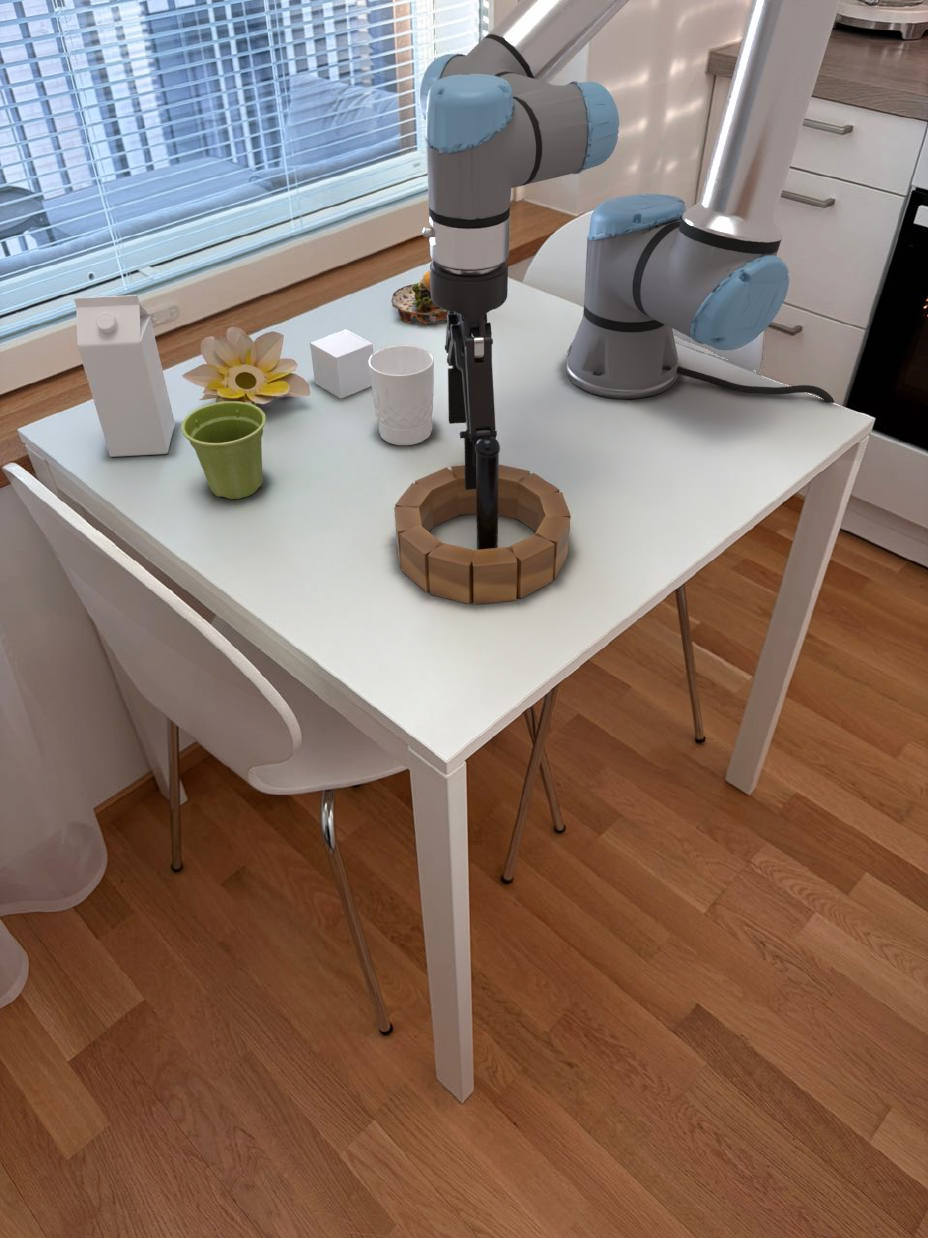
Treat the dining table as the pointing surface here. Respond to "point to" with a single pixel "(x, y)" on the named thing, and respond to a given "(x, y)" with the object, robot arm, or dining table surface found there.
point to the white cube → (342, 363)
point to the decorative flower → (246, 369)
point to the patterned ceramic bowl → (417, 302)
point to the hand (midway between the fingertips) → (468, 452)
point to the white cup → (403, 393)
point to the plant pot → (228, 446)
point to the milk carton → (124, 374)
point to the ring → (484, 569)
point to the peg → (487, 492)
